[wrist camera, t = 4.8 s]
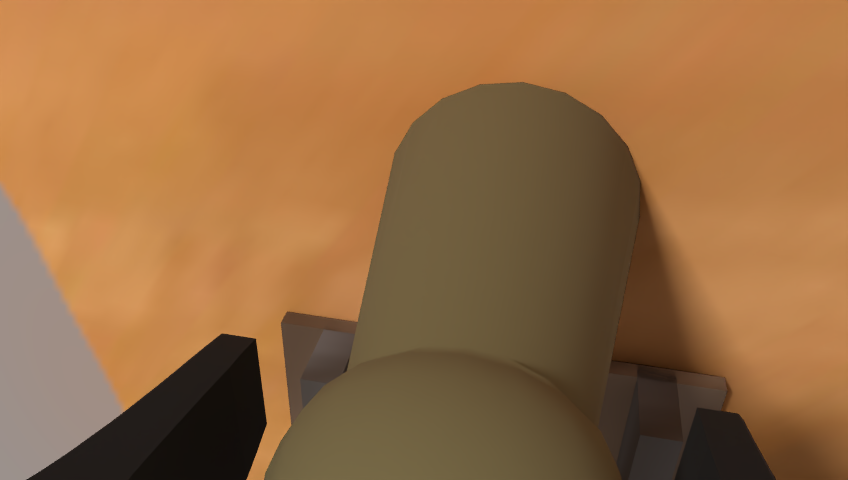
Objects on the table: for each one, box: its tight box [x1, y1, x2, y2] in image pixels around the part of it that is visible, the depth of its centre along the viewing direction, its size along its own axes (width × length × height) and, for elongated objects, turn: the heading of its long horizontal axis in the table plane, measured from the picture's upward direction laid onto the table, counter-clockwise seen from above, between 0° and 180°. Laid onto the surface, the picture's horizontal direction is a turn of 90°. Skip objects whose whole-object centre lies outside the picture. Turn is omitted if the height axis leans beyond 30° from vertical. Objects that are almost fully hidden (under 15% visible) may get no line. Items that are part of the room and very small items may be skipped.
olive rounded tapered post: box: [264, 82, 640, 480], centre depth 14 cm, size 6×6×11 cm
